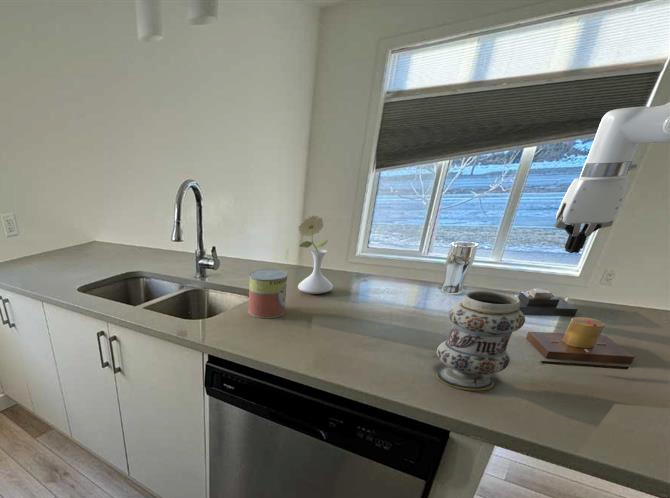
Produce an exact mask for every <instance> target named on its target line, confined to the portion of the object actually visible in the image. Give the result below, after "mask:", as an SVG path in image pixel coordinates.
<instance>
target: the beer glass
mask: <svg viewBox="0 0 670 498" xmlns="http://www.w3.org/2000/svg"><path fill="white" fill-rule="evenodd" d="M478 244H479V243H476V242H473V241H454V242H452V243H451V244H450V246H449V250H448V253H447V256H446V260H445V266H444V277H443V282H442V284H441V286H440V288H439V293H441V294H444V295H448V296H449V295H450V296H458V295H461V294H463V287H464V282H465V280H466V279H467V275H468V274H469V272H470V270H471V268H472V266H473V264H474V261H475V258H476V254H477V248H478Z"/></svg>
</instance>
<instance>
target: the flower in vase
mask: <svg viewBox="0 0 670 498" xmlns="http://www.w3.org/2000/svg"><path fill="white" fill-rule="evenodd" d="M297 228H298V231H299V234H300V235H301V236H305V237H311V241H309V240H305V241H303V242H301V243H300V244H299V245H298V247H301V248H307V249H308V248H310V247H311V246H313V247H314V249H312V250H311V251H310V253H311V254H312V257H313V270H312V273H311V274H310V275H308V276H307V277H306V278H304V279H303V280H301V281H300V282H299V284H298V285H297V288H298V290H299V291H300V292H302V293H304V294H305V293H306V294H311V295H319V294H326V293H328V292H330V291H332V290H333V287H334V286H333V284H332V283H331V281H330V280H329V279H327V278H326V277H325V276H324V275H323V273H322V272H321V271H322V262H323V259H324V256H325V255H326V253H328V250H326V249H319V248H322V247H324V246H325V245H326V244H327V243H328V241H329V238H327V239H326V240H323V241H321V242H320V241H319V243H317V245H316V244H315V242H314V238H313V237H314V235H316V234H319V233H320V231H322V229H323V228H324V222H323V218H322V217H319V216H318V215H311V216H310V215H309V216H307V218H304V219H303V220H302V221H301V222H300V224H299V225H298V227H297Z"/></svg>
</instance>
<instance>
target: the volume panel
mask: <svg viewBox="0 0 670 498" xmlns="http://www.w3.org/2000/svg"><path fill="white" fill-rule="evenodd" d="M564 335H565V332H546V331H543V332H541V331H528V332H527V334H526V336H525V339H526V340H527V341H528V342H529V343H530V345H532V346H533V348H534V349H535V350H536V351H538V352H539V354H541V356H542V357H543V358H544V359H547V360H540V362H541V364H543V365H557V366H570V367H585V368H600V369H613V370H615V369H616V370H629V369H630V366H625V365H632V363H633V361H634V360H635V358H636V357H635V356H634V354H632V353H630V352H629V351H628V350H626V349H625V348H623V347H622V346H621V345H620V344H618V343H617V342H616V341H614V340H612V339H611V338H610V337H608V335H605V334H600V336H599V338H598V340H597V342H596V344H595V346H594V347H591V348H580V347H574V346H570V345H567V344H565V343H564V342H562V339H563V337H564ZM550 360H552V361H550ZM553 360H561V361H553ZM566 361H575V362H566ZM581 362H590V363H581ZM595 363H597V364H595ZM598 363H605V364H598ZM606 363H608V364H606ZM609 364H619V365H609ZM620 364H621V365H620Z"/></svg>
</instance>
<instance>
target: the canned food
mask: <svg viewBox="0 0 670 498" xmlns="http://www.w3.org/2000/svg"><path fill="white" fill-rule="evenodd" d="M288 276H289V274H288V272H287V271H285V270H281V269H275V268H274V269H271V268H270V269H269V268H267V269H266V268H265V269H259V270H255V271H252V272H250V273H249V283H248V284H249V285H248V286H249V288H248V292H249V293H248V311H247V312H248V315H250V316H252V317H253V318H258V319H275V318H279V317H282V316H283V315H285V313H286V298H287V287H288V284H287V283H288Z"/></svg>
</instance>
